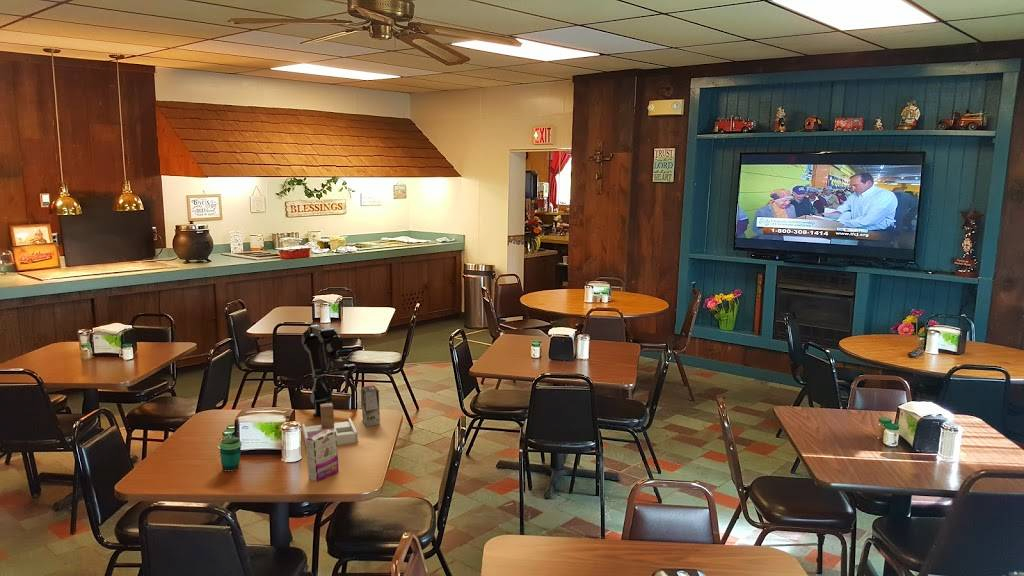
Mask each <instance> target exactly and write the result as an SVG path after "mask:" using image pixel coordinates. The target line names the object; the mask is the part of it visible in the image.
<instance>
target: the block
mask: <svg viewBox="0 0 1024 576" xmlns="http://www.w3.org/2000/svg"><path fill="white" fill-rule="evenodd" d="M320 410H321V416H320V421H321V422H320V423H321V424H320V425H321V426H322V429H331V428H334V423H335V419H334V418H335V414H334V405H333V403H332V402H327V403H326V404H320Z"/></svg>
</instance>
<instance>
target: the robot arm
mask: <svg viewBox="0 0 1024 576" xmlns="http://www.w3.org/2000/svg"><path fill="white" fill-rule="evenodd" d="M301 344H302V346H303V349H304V350H305V351H306V352H307V353H308V357H309V361H310V367H311V378H312V379H313V381H314V383H313V386H312V388H311V389H312V390H311V394H310V396H309V399H310V402H311V403H312V404H314V413H313V417H317V416H318V417H321V410H320V404H326V403H328V402H332V396H333V391H332V389H331V387H330V383H329V382H328V381H327V379H326V375H330V374H335V373H343V372H344V374H343V376H344V381H345V386H346V388H347V389H349V387H350V381H351V375H352V374H353V373H354V372H355V371H356V370H357V366H356V364H355V363H350V364H348V357H347V356H343V357H341V358H340V356H339V354H338V352H339V351H341V350H342V349H343V347H344V343H343V340H342V339H341V336H340V335H339V334H338V332H337V330H336V329H335V328H334V327H330V328H329V327H328V328H325V327H323V326H321V325H319V324H315V325H314V324H312V325H309V326H308V327H307V329H306V330H305V331H304V332H303V333H302V335H301ZM322 344H323V345H322ZM321 345H322V350H323V355H324V362H325V365H326V370H324V368H323V366H322V362H321V357H320V351H319V350H320V348H321Z"/></svg>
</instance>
